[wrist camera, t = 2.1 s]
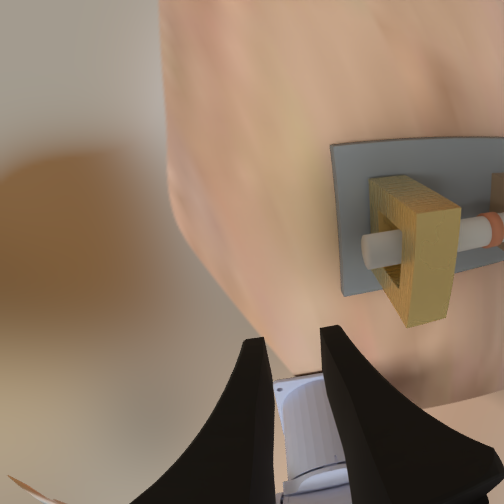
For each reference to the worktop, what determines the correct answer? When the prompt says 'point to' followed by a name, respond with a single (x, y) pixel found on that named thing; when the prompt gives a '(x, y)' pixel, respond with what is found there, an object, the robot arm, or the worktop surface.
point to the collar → (416, 246)
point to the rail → (430, 175)
